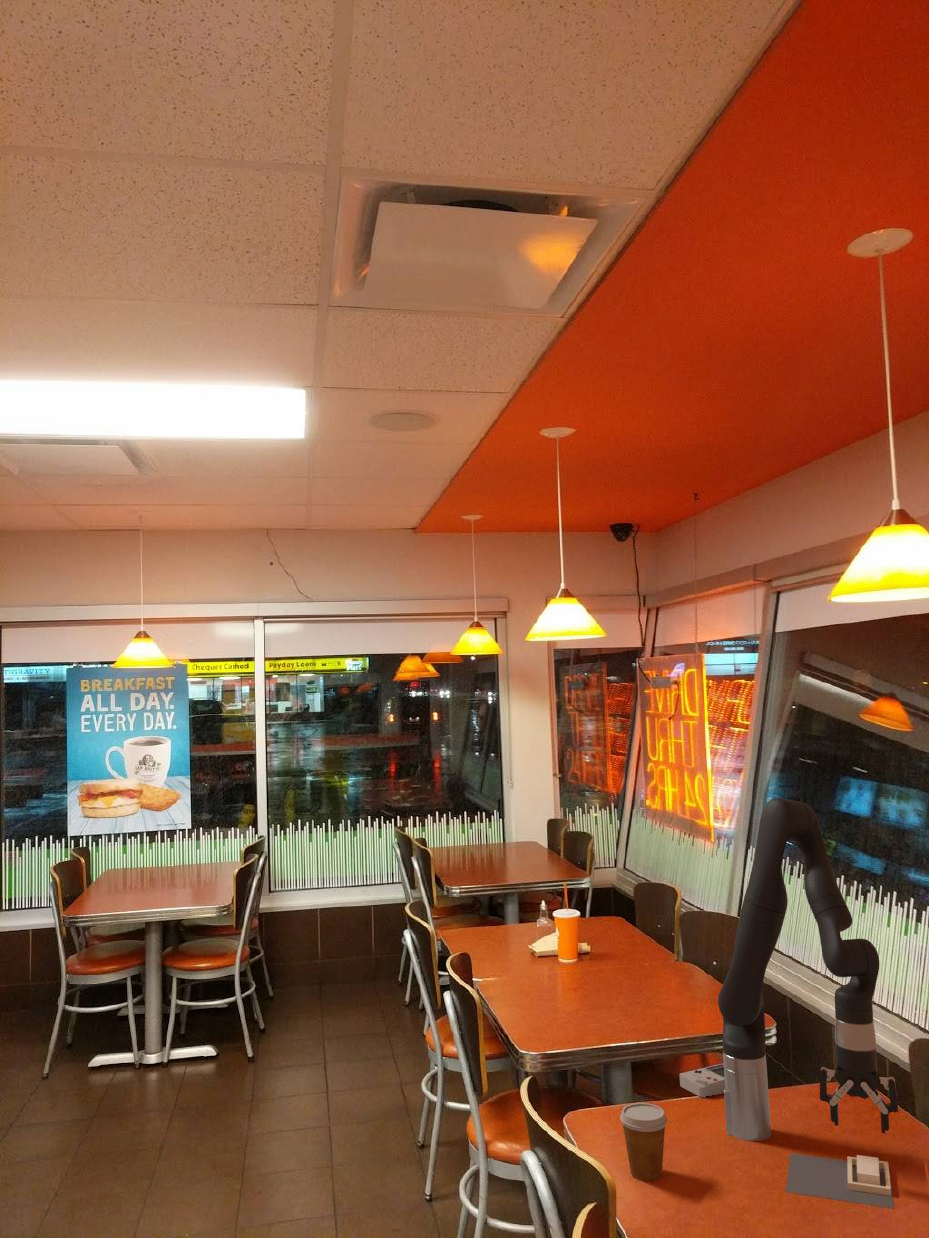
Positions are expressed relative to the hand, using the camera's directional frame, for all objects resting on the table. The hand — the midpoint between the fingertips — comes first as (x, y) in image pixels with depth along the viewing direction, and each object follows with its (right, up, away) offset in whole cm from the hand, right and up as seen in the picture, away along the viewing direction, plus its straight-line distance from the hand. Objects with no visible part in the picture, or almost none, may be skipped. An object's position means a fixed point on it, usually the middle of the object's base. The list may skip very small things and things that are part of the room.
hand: (859, 1127), depth 180 cm
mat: (-4, -10, -1) cm, 11 cm away
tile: (+1, -10, -1) cm, 10 cm away
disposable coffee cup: (-41, -13, +5) cm, 44 cm away
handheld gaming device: (-16, -17, +48) cm, 53 cm away
